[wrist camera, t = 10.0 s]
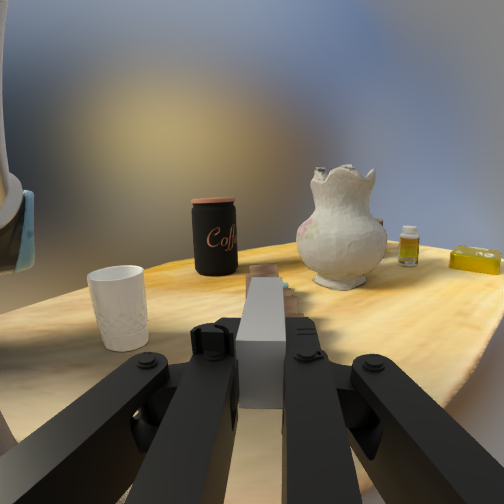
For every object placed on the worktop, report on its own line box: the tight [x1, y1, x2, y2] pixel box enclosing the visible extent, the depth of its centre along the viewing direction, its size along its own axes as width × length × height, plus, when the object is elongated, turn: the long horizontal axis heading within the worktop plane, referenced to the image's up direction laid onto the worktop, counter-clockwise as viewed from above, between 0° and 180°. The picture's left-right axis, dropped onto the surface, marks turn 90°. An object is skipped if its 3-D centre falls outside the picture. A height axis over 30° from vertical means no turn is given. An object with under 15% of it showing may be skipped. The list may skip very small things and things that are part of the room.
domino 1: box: [250, 263, 279, 277], centre depth 54 cm, size 5×2×10 cm
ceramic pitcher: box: [297, 164, 387, 290], centre depth 65 cm, size 22×20×25 cm
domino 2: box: [246, 272, 277, 298], centre depth 49 cm, size 5×2×10 cm
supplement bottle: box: [398, 226, 419, 267], centre depth 75 cm, size 6×6×10 cm
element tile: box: [449, 246, 501, 275], centre depth 70 cm, size 15×15×5 cm
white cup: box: [87, 266, 149, 352], centre depth 39 cm, size 8×8×10 cm
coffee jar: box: [191, 197, 238, 276], centre depth 76 cm, size 11×11×18 cm
